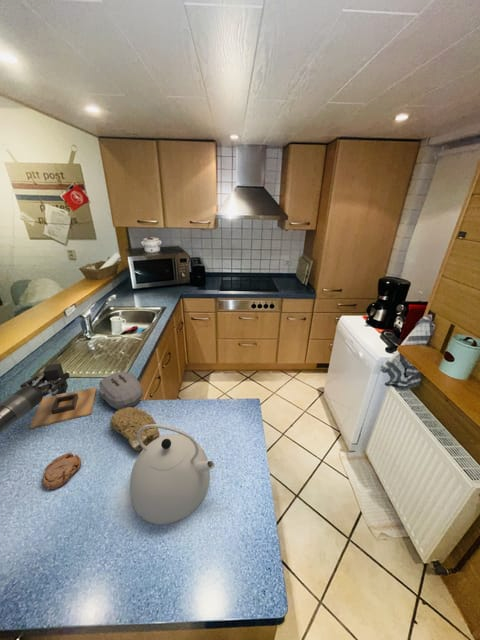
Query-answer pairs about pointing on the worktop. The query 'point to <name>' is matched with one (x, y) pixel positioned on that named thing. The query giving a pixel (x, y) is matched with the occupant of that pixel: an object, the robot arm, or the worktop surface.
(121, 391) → the grey rounded bag
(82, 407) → the base pad
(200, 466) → the kettle
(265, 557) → the worktop surface
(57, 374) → the black block
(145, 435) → the sponge
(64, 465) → the cookie
